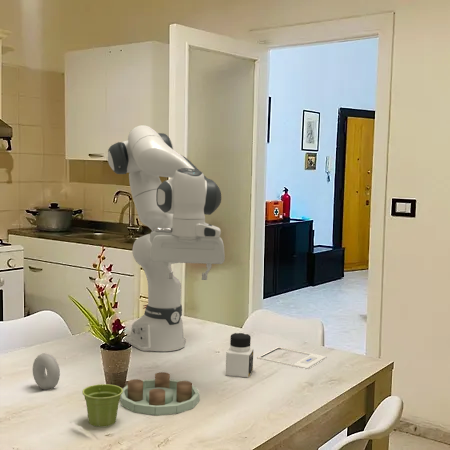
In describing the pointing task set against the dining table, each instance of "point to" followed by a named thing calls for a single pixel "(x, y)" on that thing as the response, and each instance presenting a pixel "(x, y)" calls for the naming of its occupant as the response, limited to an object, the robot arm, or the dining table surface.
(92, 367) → the dining table surface
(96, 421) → the plant pot
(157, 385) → the wooden cylinder
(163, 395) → the seated bead
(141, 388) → the seated bead
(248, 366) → the medicine bottle
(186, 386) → the loose bead
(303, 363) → the photo frame
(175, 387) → the tray
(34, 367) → the donut
